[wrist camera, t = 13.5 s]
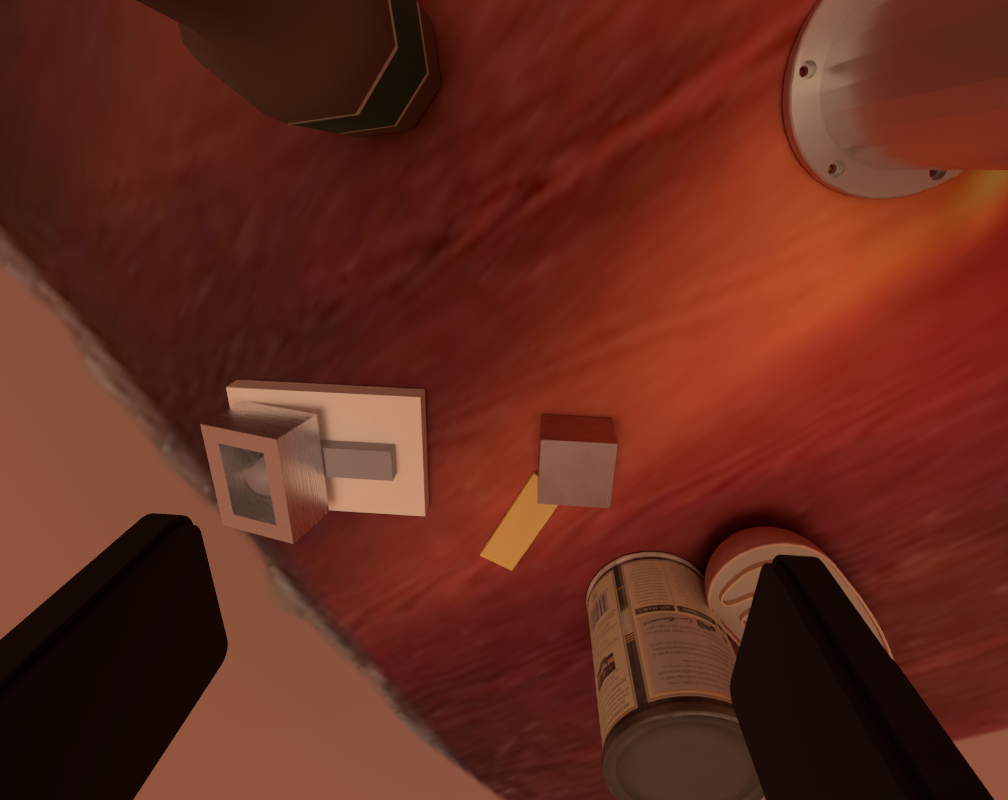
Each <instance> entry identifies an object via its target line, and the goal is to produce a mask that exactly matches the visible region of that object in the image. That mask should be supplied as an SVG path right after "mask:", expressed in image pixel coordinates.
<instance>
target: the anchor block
mask: <svg viewBox="0 0 1008 800" xmlns="http://www.w3.org/2000/svg"><path fill="white" fill-rule="evenodd" d="M617 446H618V443H617V439H616V435H615V432H614V428H613V424H612V421H611V418H603V417H584V416H566V415H547V414H541V429H540V446H539V463H538V490H537V504H551V505H567V506H583V507H600V508H610V502H611V494H612V486H613V478H614V470H615V462H616V454H617Z"/></svg>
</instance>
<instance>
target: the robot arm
mask: <svg viewBox="0 0 1008 800" xmlns="http://www.w3.org/2000/svg"><path fill="white" fill-rule="evenodd" d="M801 67H802V68H804V70H805V74H804V76H803V77H801V76H800V75H799V69H800V68H801ZM782 105H783V114H784V124H785V129H786V132H787V135H788V138H789V141H790V145H791V147H792V149H793V151H794V153H795V154H796V156H797V158H798V160H799V161H800V163H801V165H802V166H803V167H804V168H805V169H806V170H807V171H808V172H809V173H810V174H811V175H812V176H813V177H814V178H815V179H816V180H817V181H819V182H820V183H822V184H824V185H825V186H827V187H828V188H830V189H831V190H834V191H837V192H840V193H842V194H845V195H848V196H852V197H859V198H866V199H893V198H900V197H906V196H912V195H915V194H918V193H921V192H924V191H926V190H929V189H932V188H935V187H937V186H939V185H941V184H943V183H944V182H946V181H948V180H950V179H952V178H954V177H956V176H958V175H959V174H960V173H962V172H963V171H964V170H1008V0H818V1H817V2H816V4H815V5H814V7H813V9H812V10H811V12H810V14H809V15H808V17H807V19H806V20H805V22H804V24H803V25H802V27H801V29H800V32H799V34H798V36H797V39H796V41H795V44H794V46H793V48H792V51H791V53H790V57H789V61H788V65H787V69H786V74H785V78H784V88H783V101H782ZM830 165H832V166H833V170H832V172H831V173H828V169H829V167H830ZM930 170H931V173H930ZM227 646H228V642H227V636H226V632H225V628H224V624H223V620H222V616H221V612H220V608H219V604H218V600H217V595H216V591H215V587H214V583H213V580H212V575H211V571H210V567H209V563H208V559H207V555H206V551H205V547H204V543H203V538H202V535H201V531H200V529H199V528H198V527H197V526H196V525H193V523H192V521H191V520H190V519H189V518H188V517H187V516H183V515H170V514H154V513H153V514H148V515H146V516H144V517H143V518H141V519H140V520H139V521H138V522H137V523H136V524H134V525H133V526H132V527H131V528H130V529H128V530H127V531H126V532H125V533H124V534H123V535H121V536H120V537H119V538H118V539H117V540H116V541H114V542H113V543H112V544H111V545H110V546H109V547H108V548H107V549H105V550H104V551H103V552H102V553H101V554H99V555H98V556H97V557H96V558H95V559H94V560H92V561H91V562H90V563H89V564H88V565H87V566H86V567H84V568H83V569H82V570H81V571H80V572H79V573H77V574H76V575H75V576H74V577H73V578H72V579H70V580H69V581H68V582H67V583H66V584H65V585H63V586H62V587H61V588H60V589H59V590H58V591H56V592H55V593H54V594H53V595H52V596H51V597H50V598H48V599H47V600H46V601H45V602H44V603H43V604H41V605H40V606H39V607H38V608H37V609H36V610H34V612H32V613H31V614H30V615H29V616H28V617H26V618H25V619H24V620H23V621H22V622H21V623H19V624H18V625H17V626H16V627H15V628H14V629H12V630H11V631H10V632H9V633H8V634H7V635H5V636H4V637H3V638H2V639H1V640H0V800H133V799H134V798H135V796H136V795H137V793H138V791H139V790H140V788H141V787H142V785H143V784H144V782H145V781H146V779H147V778H148V776H149V775H150V773H151V772H152V770H153V769H154V767H155V765H156V764H157V762H158V761H159V759H160V758H161V756H162V755H163V753H164V752H165V750H166V749H167V747H168V746H169V744H170V743H171V741H172V739H173V738H174V737H175V735H176V733H177V732H178V730H179V729H180V727H181V726H182V724H183V723H184V721H185V720H186V718H187V717H188V715H189V714H190V712H191V711H192V709H193V707H194V706H195V704H196V703H197V701H198V700H199V698H200V697H201V695H202V694H203V692H204V690H205V689H206V687H207V686H208V685H209V683H210V681H211V680H212V678H213V677H214V675H215V674H216V672H217V671H218V669H219V668H220V666H221V664H222V663H223V661H224V658H225V656H226V652H227ZM730 695H731V701H732V705H733V708H734V711H735V714H736V716H737V719H738V722H739V725H740V728H741V731H742V733H743V736H744V739H745V742H746V745H747V748H748V751H749V753H750V756H751V759H752V762H753V765H754V768H755V770H756V773H757V776H758V779H759V782H760V785H761V787H762V790H763V793H764V796H765V799H766V800H994V799H993V798H992V796H991V795H990V793H989V792H988V790H987V789H986V788H985V786H984V785H983V783H982V782H981V781H980V779H979V778H978V777H977V775H976V774H975V772H974V771H973V770H972V768H971V767H970V765H969V764H968V763H967V761H966V760H965V758H964V757H963V756H962V754H961V753H960V751H959V750H958V749H957V747H956V746H955V744H954V743H953V742H952V740H951V739H950V737H949V736H948V735H947V733H946V732H945V730H944V729H943V728H942V726H941V725H940V723H939V722H938V721H937V719H936V718H935V716H934V715H933V714H932V712H931V711H930V709H929V708H928V707H927V705H926V704H925V702H924V701H923V700H922V698H921V697H920V695H919V694H918V693H917V691H916V690H915V688H914V687H913V686H912V684H911V683H910V681H909V680H908V679H907V677H906V676H905V674H904V673H903V672H902V670H901V669H900V667H899V666H898V665H897V664H896V663H895V661H894V660H893V659H892V658H891V657H890V656H889V654H888V653H887V652H886V650H885V649H884V647H883V646H882V644H881V643H880V642H879V640H878V639H877V637H876V636H875V635H874V633H873V632H872V630H871V629H870V628H869V626H868V625H867V623H866V622H865V621H864V619H863V618H862V616H861V615H860V614H859V612H858V611H857V609H856V608H855V607H854V605H853V604H852V602H851V601H850V600H849V598H848V597H847V595H846V594H845V592H844V591H843V590H842V588H841V587H840V585H839V584H838V583H837V581H836V580H835V578H834V577H833V576H832V574H831V573H830V571H829V570H828V569H827V567H826V566H825V564H824V563H823V562H822V561H821V560H820V559H819V558H817V557H813V556H797V555H782V554H780V555H776V557H775V558H774V559H773V561H772V563H765V564H764V565H763V566H762V568H761V571H760V575H759V578H758V582H757V586H756V589H755V593H754V596H753V600H752V604H751V607H750V611H749V615H748V618H747V622H746V625H745V629H744V633H743V636H742V640H741V644H740V647H739V651H738V654H737V658H736V662H735V665H734V669H733V673H732V676H731V681H730Z"/></svg>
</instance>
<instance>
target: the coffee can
mask: <svg viewBox="0 0 1008 800" xmlns="http://www.w3.org/2000/svg"><path fill="white" fill-rule="evenodd" d="M704 582H705V578H704V576H703V575H702V574H701V572H700V571H699V570H698V569H697V568H696V567H695V566H694V565H693V564H691V563H690V562H688V561H686V560H684V559H682V558H680V557H678V556H675V555H672V554H668V553H663V552H640V553H633V554H629V555H625V556H622V557H620V558H618V559H615V560H613V561H612V562H610V563H608V564H607V565H606V566H604V567H603V568H602V569H601V570H600V571H599V572H598V573H597V574H596V576H595V577H594V578H593V580H592V581H591V583H590V586H589V588H588V591H587V598H586V605H587V610H588V615H589V625H590V634H591V643H592V653H593V663H594V672H595V682H596V692H597V703H598V710H599V719H600V728H601V738H602V746H603V753H602V771H603V777H604V780H605V783H606V785H607V787H608V789H609V790H610V792H611V793H612V794H613V795H614V797H615V798H616V799H618V800H761V799H762V798H763V797H764V793H763V790H762V787H761V785H760V782H759V779H758V776H757V773H756V770H755V768H754V765H753V762H752V759H751V756H750V753H749V751H748V748H747V745H746V742H745V739H744V736H743V733H742V731H741V728H740V725H739V722H738V719H737V716H736V714H735V711H734V708H733V705H732V701H731V695H730V681H731V676H732V673H733V669H734V665H735V662H736V656H735V653H734V651H733V648H732V646H731V643H730V641H729V639H728V636H727V634H726V631H725V629H724V627H723V625H722V622H721V620H720V618H719V617H718V615H717V614H716V613H715V611H714V610H713V612H712V611H711V610H710V609H709V608H708V605H707V601H706V596H705V586H704Z"/></svg>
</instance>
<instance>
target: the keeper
mask: <svg viewBox="0 0 1008 800" xmlns="http://www.w3.org/2000/svg"><path fill="white" fill-rule="evenodd" d="M226 390H227V395H228V400H229V405H230V409H231V408H233V407H235V406H237V405H239V404H241V403H243V402H245V401H247V402H253V403H258V404H263V405H269V406H274V407H280V408H285V409H291V410H296V411H302V412H307V413H313V414H317V421H318V429H319V436H320V444H321V452H322V460H323V468H324V476H325V484H326V492H327V500H328V508H329V510H334V511H350V512H365V513H381V514H397V515H412V516H426V513H427V510H428V507H429V489H428V461H427V434H426V406H425V389H411V388H391V387H371V386H352V385H332V384H312V383H293V382H273V381H253V380H236V381H235V382H233V383H232V384H230V385H229V386H227V387H226ZM247 481H248V484H249V486H250V487H251V488H252V489H253V490H254V491H255V492H257V493H259V494H261V495H265V496H271V493H270V487H269V481H268V476H267V470H266V464H265V459H264V456H263V457H262V458H261V459H260V460H259V461H258V462H257V463H256V464H255V465H254V466H253V467H252V468H251V469H250V470H249V471H248V473H247Z"/></svg>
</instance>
